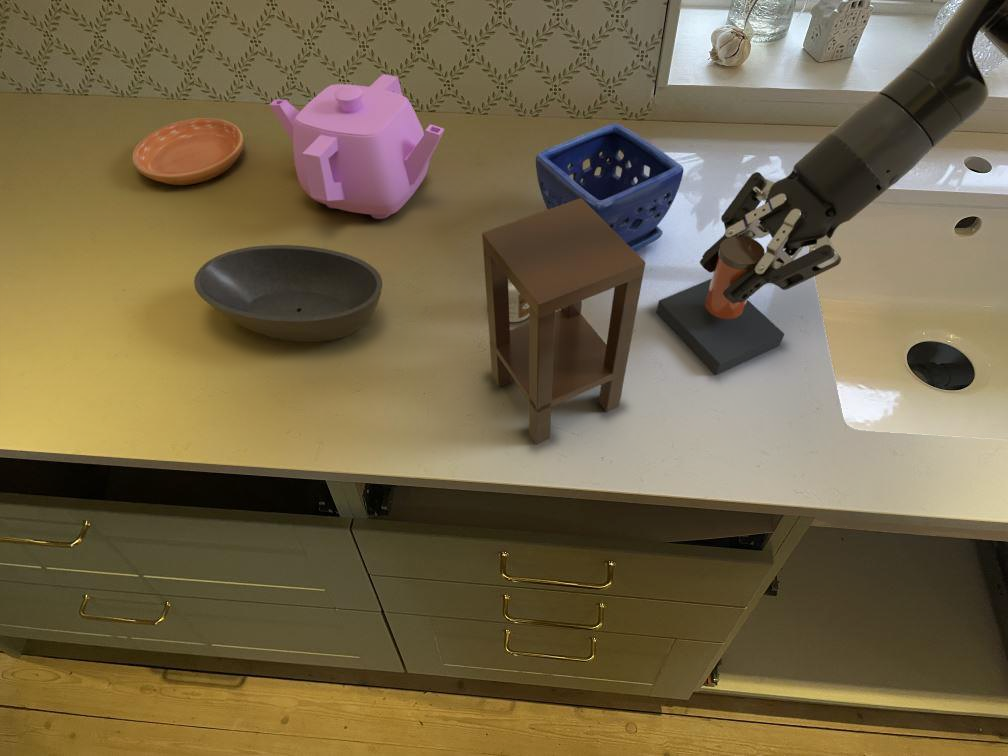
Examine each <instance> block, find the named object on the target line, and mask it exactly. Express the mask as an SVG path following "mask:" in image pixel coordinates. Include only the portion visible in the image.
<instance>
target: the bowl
mask: <svg viewBox="0 0 1008 756" xmlns="http://www.w3.org/2000/svg"><path fill="white" fill-rule="evenodd" d="M193 286H194V289H195V291H196V293H197V295H199V296H200V298H201V299H203V300H204V301H205V302H206V303H207V304H208V305H209V306H210V307H211V308H213V309H214V310H215V311H217V313H220V314H221V316H223V317H225V318H227V319H228V320H229V321H232V322H234V323H236V324H237V325H239V326H241V327H242V328H245V329H248V330H249V331H251V332H255V333H258V334H261V335H263V336H267V337H270V338H272V339H276V340H281V341H285V342H294V343H322V342H330V341H335V340H339V339H342V338H345V337H348V336H350V335H351V334H353V333H354V332H356V331H357V330H359V329H360V328H361V327H362V326H364V325H365V324H366V323H367V322H368V320H369V319H370V318H371V316H372V315H373V313H374V312H375V310H376V308H377V307H378V304H379V301H380V298H381V294H382V290H383V279H382V276H381V274H380V273H379V271H378V270H377V269H376V268H375V267H374V266H372V265H371V264H369V263H368V262H367V261H365V260H362V259H361V258H359V257H356V256H353V255H352V254H347V253H344V252H340V251H337V250H333V249H327V248H321V247H315V246H308V245H296V244H295V245H294V244H269V245H268V244H267V245H257V246H248V247H242V248H238V249H234V250H230V251H227V252H224V253H221V254H219V255H217V256H215V257H213V258H210V259H209V260H207V262H205V263H204V264H203V265H202V266H201V267H200V268H199V269H198V271H197V272H196V274H195V276H194V281H193Z"/></svg>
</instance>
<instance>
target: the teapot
mask: <svg viewBox="0 0 1008 756" xmlns="http://www.w3.org/2000/svg"><path fill="white" fill-rule="evenodd" d="M402 92H403V91H402V88H401V84H400V80H399V77H398V76H396V75H391V74H385V73H382V74H381V75H380V76H379V77H378V78H376V80H375V81H374V82H373V83H372V84H371V85H369V86H365V85H358V84H348V83H347V84H346V83H338V84H337V83H336V84H331V85H330V84H329V86H327V87H326V88H324V89H323V90H321V92H319V93H318V94H317V95H316V96H315V97H314V98H313V99H311V100H310V101H309V102H308V103H307V104H306V105H305V106H304V107H303V108H302V109H301V110H300V111H299V110H298V108H296V107H295V106H293V105H292V104H291V103H289V101H288V99H277V98H276V99H274V100H273V101H272V102H271V103H269V104H268V105H269V108H270V110H271V111H272V112H273V114H274V115H275V117H276V119H277V120H278V121H279V123H280V124H281V126H282V128H283V129H284V131H285V132H286V133H287V135H288V137H289V138H290V140H291V142H292V145H293V147H292V149H293V160H294V166H295V171H296V177H297V179H298V182H299V184H300V187H302V189H303V191H304V192H305V193H306V194H307V195H308V196H309V197H310V198H312V199H313V200H314V201H316V202H318V203H321V204H323V205H325V206H326V207H327V208H329V209H338V210H341V211H345V212H350V213H357V214H364V215H370V216H371V217H372V219H377V220H382V219H387V218H388V217H390V216H391V215H393V214H395V213H397V212H398V211H400V210H401V209H402V207H403V206H404V205H405V204H407V202H408V201H409V200H410V199H411V198H412V196H413V195H414V194H415V192H416V191H417V190H418V188H419V187H420V185H421V184H422V183H423V181H424V179H425V178H426V175H427V172H428V169H429V165H430V161H431V158H432V156H433V154H434V152H435V150H436V148H437V146H438V144H439V142H440V140H441V138H442V137H443V134H444V132H445V128H444V127H440V126H437V125H435V124H431V123H430V124H429V125H428V127H426V129H425V131H424V129H423V126H422V124H421V121H420V120H419V118H418V116H417V113H416V112H415V111H416V110H414V107H413V105H412V104H411V102H410V100H409V98H408V97H406V96H405V95H403V93H402Z"/></svg>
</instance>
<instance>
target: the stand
mask: <svg viewBox="0 0 1008 756" xmlns="http://www.w3.org/2000/svg"><path fill="white" fill-rule="evenodd" d="M481 235H482V237H481V239H482V251H483V265H484V278H485V279H484V281H485V294H486V295H485V296H486V306H487V307H486V308H487V320H488V335H489V351H490V364H491V376H492V379H493V381H494V382H495V384H496V386H497V387H498V388H501V387H503V386H506V385H508V384H510V383H512V382H513V381H512V379H513V380H514V382H515V383H516V385H517V386H518V388H519V389H520V390H521V392H522V393H523V395H524V396H525V398H526V399H527V401H528V407H529V408H528V434H529V436H530V437H531V439H532V440H533V442H534V444H535V445H539V444H542V443H543V442H545V441H548V440H550V439H551V422H552V421H551V419H552V407H555V406H556V405H559V404H561V403H564V402H566V401H568V400H570V399H572V398H575V397H576V396H579V395H581V394H583V393H585V392H589V391H590V390H593V389H594V388H598V387H599V386H600V389H599V396H598V404H599V405H600V406H601V407H602V409H603V410H604V411H605V413H609V412H611V411H613V410H615V409H617V408H619V407H620V402H621V398H622V392H623V387H624V382H625V376H626V370H627V365H628V361H629V360H628V359H629V354H630V348H631V343H632V339H633V332H634V326H635V321H636V317H637V311H638V305H639V300H640V293H641V289H642V284H643V278H644V277H643V276H644V273H645V267H646V262H645V260H644V259H643V258H642V257H641V256H640V255H639V254H638V253H637V252H636V251H634V250H633V249H632V248H631V247H630V246H629V245H628V244H627V243H626V242H625V241H624V240H623V239H622V238H621V237H620V236H619V235H618V234H617V233H616V232H615V231H614V230H613V229H612V228H611V227H610V226H609V225H608V224H607V223H606V222H605V221H604V220H603V219H602V218H601V217H600V216H599V215H598V214H597V213H596V212H595V211H594V210H593V209H592V208H591V207H590V206H589V205H588V204H587V203H586V202H585V201H584V200H583V199H582V198H580V199H577V200H574V201H571V202H568V203H566V204H563V205H560V206H557V207H554V208H551V209H545V210H543V211H539V212H538V213H537V212H536V213H535V214H532V215H529V216H525V217H523V218H520V219H517V220H514V221H512V222H509V223H506V224H503V225H501V226H500V225H499V226H498V227H495V228H492V229H489V230H486V231H484V232H481ZM508 279H509V280H510V282H511V283H512V284H513V285H514V287H515V288H516V289H517V291H518V292H519V293H520V294H521V296H522V297H523V298H524V300H525V301H526V302H527V304H528V305H529V317H528V322H526V323H525V324H522V325H520V326H517V327H514V328H512V329H511V325H510V324H511V322H509V293H508ZM611 289H614V290H613V296H612V302H611V311H610V318H609V325H608V332H607V337H606V338H607V339H606V342H605V340H603V338H602V337H601V336H600V335H599V334H598V332H597V331H596V330H595V328H594V327H593V326H592V325H591V324H590V323H589V321H587V319H586V318H585V317H584V316H583V315H582V306H583V305H582V304H583V301H584V300H587V299H589V298H591V297H594V296H597V295H599V294H601V293H605V292H606V291H609V290H611Z"/></svg>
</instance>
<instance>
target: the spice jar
mask: <svg viewBox="0 0 1008 756" xmlns="http://www.w3.org/2000/svg"><path fill="white" fill-rule="evenodd" d="M765 253H766V251H765V248H764V246H763V245H762V243H760V242H758V240H756V239H752V238H749V237H744V236H733V237H729V238H727V239H725V240H724V241H723V242H722V243H721V245H720V248H719V252H718V254H719V255H718V259H717V262H716V266H715V269H714V272H712V276H711V279H712V280H711V283H710V287H709V290H708V294H707V297H706V301H705V306H706V308H707V310H708V311H709V312H710V313H711V314H712V315H714V316H716V317H718V318H722V319H733V318H736V317H738V316H740V315H741V314H742V313H743V311H744V308H745V305H746V302H747V300H748V301H749V298H748V299H747V300H745V301H743V302H741V303H740V302H737V303H732V302H730V301H729V300H727V299H726V297H725V296H724V295H723V292H724V290H726V289H727V288H728V287H729V286H730V285H731V284H733V283H734V282H735V281H736V280H737V279H738V278H740V277H741V276H742V275H743V274H744V273H746V272H747V271H748V270H749V269H752V270H755V267H756V265H757V264H758V262H759V261H760V260H761V258H762V257H763V256H764V254H765Z"/></svg>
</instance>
